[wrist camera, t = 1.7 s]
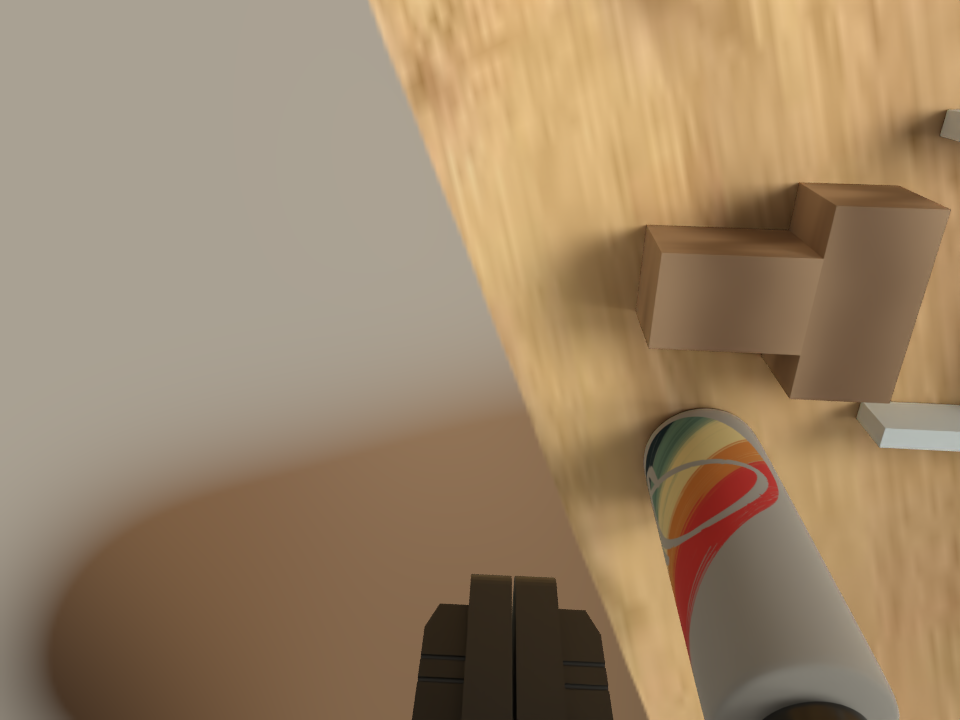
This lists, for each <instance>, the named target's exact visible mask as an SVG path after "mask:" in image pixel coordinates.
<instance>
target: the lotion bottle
mask: <svg viewBox="0 0 960 720" xmlns="http://www.w3.org/2000/svg"><path fill="white" fill-rule="evenodd" d="M644 472H645V477H646V482H647V486H648V491H649V495H650V499H651V503H652V507H653V511H654V515H655V520H656V524H657V528H658V532H659V536H660V540H661V544H662V548H663V552H664V556H665V561H666V565H667V569H668V573H669V577H670V581H671V585H672V589H673V593H674V597H675V601H676V606H677V610H678V614H679V618H680V622H681V626H682V630H683V634H684V638H685V642H686V647H687V651H688V655H689V659H690V663H691V667H692V671H693V675H694V679H695V683H696V687H697V691H698V695H699V699H700V703H701V707H702V711H703V715H704V719H705V720H899V709H898V705H897V702H896V699H895V696H894V694H893V692H892V690H891V687H890V685H889V683H888V681H887V679H886V677H885V675H884V674H883V672H882V670H881V668H880V666H879V664H878V662H877V660H876V658H875V656H874V654H873V652H872V651H871V649H870V647H869V645H868V643H867V641H866V639H865V637H864V635H863V634H862V632H861V630H860V628H859V626H858V624H857V622H856V620H855V619H854V617H853V615H852V613H851V611H850V609H849V607H848V606H847V604H846V602H845V600H844V598H843V596H842V594H841V592H840V591H839V589H838V587H837V585H836V583H835V581H834V579H833V577H832V576H831V574H830V572H829V570H828V568H827V566H826V564H825V562H824V561H823V559H822V557H821V555H820V553H819V551H818V549H817V547H816V546H815V544H814V542H813V540H812V538H811V536H810V534H809V533H808V531H807V529H806V527H805V525H804V523H803V521H802V519H801V518H800V516H799V514H798V512H797V510H796V508H795V506H794V504H793V503H792V501H791V499H790V497H789V495H788V493H787V491H786V489H785V488H784V486H783V484H782V482H781V480H780V478H779V476H778V475H777V473H776V471H775V469H774V467H773V465H772V463H771V461H770V460H769V458H768V456H767V454H766V452H765V450H764V449H763V447H762V445H761V443H760V442H759V440H758V438H757V437H756V435H755V434H754V432H753V431H752V430H751V428H750V427H749V426H748V425H747V424H746V423H745V422H743V421H742V420H741V419H740V418H738V417H737V416H735V415H733V414H731V413H728V412H725V411H722V410H718V409H707V408H704V409H694V410H689V411H685V412H682V413H680V414H677V415H675V416H673V417H671V418H670V419H668V420H666V421H665V422H664V423H662V424H661V425H660V426H659V427H658V428H657V429H656V430H655V431H654V433H653V434H652V435H651V437H650V439H649V441H648V443H647V445H646V448H645V452H644Z"/></svg>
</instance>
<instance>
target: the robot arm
mask: <svg viewBox="0 0 960 720" xmlns="http://www.w3.org/2000/svg"><path fill="white" fill-rule="evenodd" d="M412 720H613V715H612V708H611V702H610V694H609V691H608V681H607V674H606V668H605V660H604V654H603V647H602V640H601V634H600V633H599V631H598V630H597V628H596V627H595V625H594V623H593V622H592V620H591V619H590V617H589V616H588V614H587V612H586V611H585V610H566V609H558V597H557V586H556V579H555V578H547V577H525V576H515V578H514V591H513V607H512V578H511V576H500V575H479V574H472V575H471V586H470V599H469V605H457V604H455V605H454V604H440V605H439V606H438V608H437V609H436V611H435V612H434V613H433V615H432V617H431V618H430V620H429V621H428V623H427V624H426V626H425V629H424V636H423V643H422V651H421V659H420V666H419V673H418V682H417V687H416V695H415V702H414V709H413V716H412Z"/></svg>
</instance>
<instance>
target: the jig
mask: <svg viewBox="0 0 960 720" xmlns="http://www.w3.org/2000/svg"><path fill="white" fill-rule="evenodd" d="M940 136H942V137H945V138H948V139H952V140H955V141H959V142H960V110H953V109H948V110H947V113H946V117H945V120H944V124H943V127H942V130H941V134H940ZM856 419H857V420H858V421H859V423H860V424H861V425H862V426H863V428H864V429H865V430H866V431H867V433H868V434H869V435H870V436H871V438H872V439H873V440H874V441H875V443H876V444H877V445H878V446H879V447H882V448H901V449H921V450H940V451H960V405H949V404H928V403H907V402H890V404H886V403H865V402H861V404H860V407H859V411H858V414H857V418H856Z"/></svg>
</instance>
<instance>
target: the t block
mask: <svg viewBox="0 0 960 720" xmlns="http://www.w3.org/2000/svg"><path fill="white" fill-rule="evenodd" d="M950 211H951V210H950V209H948V208H946V207H944V206H942V205H940V204H937V203H935V202H933V201H931V200H929V199H927V198H924V197H922V196H920V195H918V194H916V193H914V192H911V191H909V190H907V189H905V188H903V187H901V186H891V185H860V184H829V183H799V186H798V191H797V196H796V200H795V205H794V209H793V214H792V219H791V223H790V228H789V230H776V229H748V228H720V227H692V226H663V225H646V233H645V241H644V249H643V257H642V265H641V273H640V281H639V289H638V297H637V305H636V313H637V316H638V319H639V322H640V325H641V328H642V331H643V333H644V336H645V339H646V342H647V345H648V348H652V349H674V350H696V351H718V352H741V353H762V358H763V360H764V361H765V363H766V364H767V366H768V367H769V369H770V370H771V372H772V373H773V375H774V376H775V378H776V379H777V381H778V382H779V384H780V385H781V387H782V388H783V390H784V391H785V393H786V394H787V395H788V397H789V398H790V399H803V400H824V401H844V402H865V403H886V404H890V401H891V398H892V394H893V391H894V388H895V385H896V382H897V379H898V375H899V372H900V369H901V366H902V363H903V360H904V357H905V353H906V350H907V347H908V344H909V341H910V338H911V334H912V331H913V328H914V325H915V322H916V319H917V315H918V312H919V309H920V306H921V303H922V300H923V297H924V293H925V290H926V287H927V284H928V281H929V278H930V274H931V271H932V268H933V265H934V262H935V259H936V255H937V252H938V249H939V246H940V243H941V240H942V236H943V233H944V230H945V227H946V224H947V221H948V218H949V214H950Z"/></svg>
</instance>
